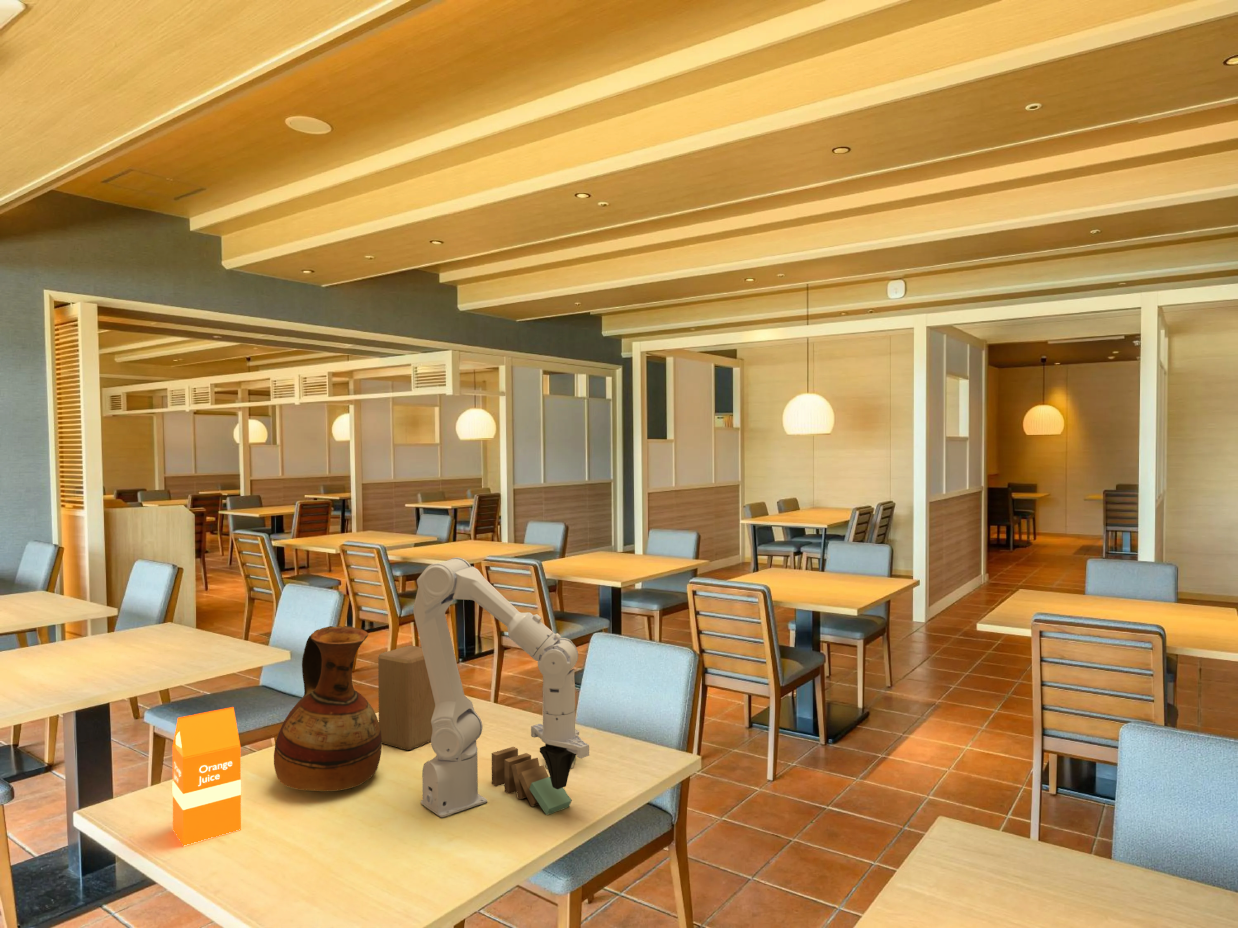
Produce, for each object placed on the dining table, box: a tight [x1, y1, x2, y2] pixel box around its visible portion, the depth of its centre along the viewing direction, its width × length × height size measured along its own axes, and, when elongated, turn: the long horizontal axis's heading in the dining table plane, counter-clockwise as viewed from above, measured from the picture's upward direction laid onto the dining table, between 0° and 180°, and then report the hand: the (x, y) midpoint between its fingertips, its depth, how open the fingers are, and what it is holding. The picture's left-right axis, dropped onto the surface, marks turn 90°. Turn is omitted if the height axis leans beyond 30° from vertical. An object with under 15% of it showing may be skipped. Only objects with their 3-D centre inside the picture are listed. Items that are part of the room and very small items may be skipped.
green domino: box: [529, 776, 572, 816], centre depth 140 cm, size 5×2×6 cm
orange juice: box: [171, 706, 242, 847], centre depth 131 cm, size 8×9×20 cm
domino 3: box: [511, 757, 540, 800], centre depth 145 cm, size 5×2×6 cm, turn 132°
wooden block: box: [377, 645, 435, 751], centre depth 173 cm, size 10×10×20 cm
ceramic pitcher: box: [273, 625, 383, 792], centre depth 151 cm, size 20×20×30 cm
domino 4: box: [518, 764, 550, 808], centre depth 142 cm, size 5×2×6 cm
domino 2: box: [504, 752, 532, 795], centre depth 147 cm, size 5×2×6 cm, turn 131°
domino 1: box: [491, 746, 519, 787], centre depth 151 cm, size 5×2×6 cm, turn 131°
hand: (559, 786), depth 138 cm, fingers closed
